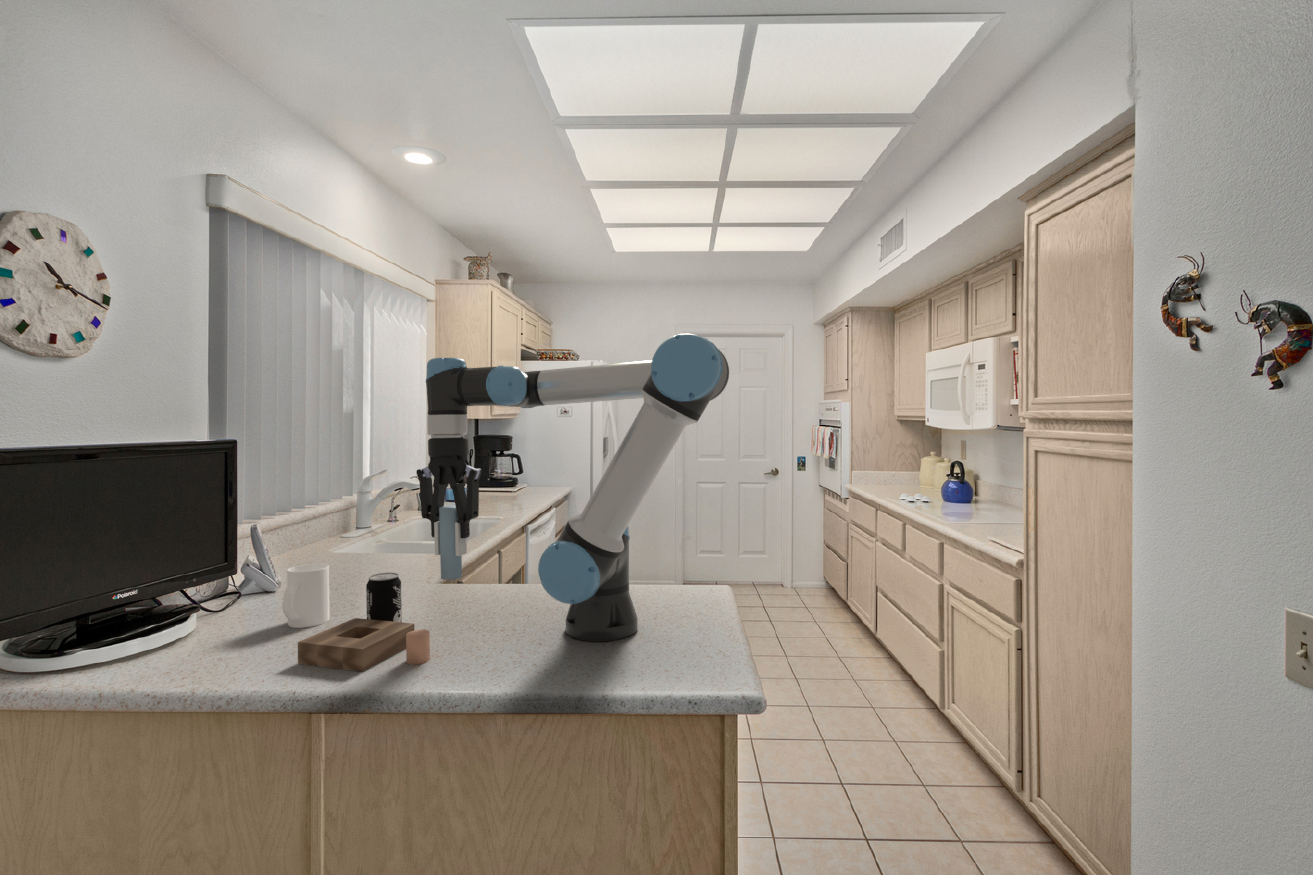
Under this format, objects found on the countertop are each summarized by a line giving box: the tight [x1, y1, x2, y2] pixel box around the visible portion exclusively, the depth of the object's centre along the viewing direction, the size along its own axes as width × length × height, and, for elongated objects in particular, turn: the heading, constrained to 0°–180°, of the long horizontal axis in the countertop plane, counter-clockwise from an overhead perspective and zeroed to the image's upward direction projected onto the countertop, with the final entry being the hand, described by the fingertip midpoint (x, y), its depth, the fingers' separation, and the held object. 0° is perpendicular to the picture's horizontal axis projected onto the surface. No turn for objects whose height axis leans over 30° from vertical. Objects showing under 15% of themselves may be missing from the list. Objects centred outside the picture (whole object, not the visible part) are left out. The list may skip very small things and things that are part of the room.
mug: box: [281, 563, 331, 629], centre depth 130 cm, size 8×12×12 cm
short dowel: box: [405, 629, 431, 666], centre depth 111 cm, size 4×4×5 cm
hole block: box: [297, 617, 415, 673], centre depth 114 cm, size 14×14×4 cm
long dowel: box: [439, 505, 463, 581], centre depth 120 cm, size 4×4×14 cm
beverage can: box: [365, 572, 403, 622], centre depth 125 cm, size 7×7×12 cm
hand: (450, 553), depth 120 cm, fingers closed on long dowel, 4 cm apart
